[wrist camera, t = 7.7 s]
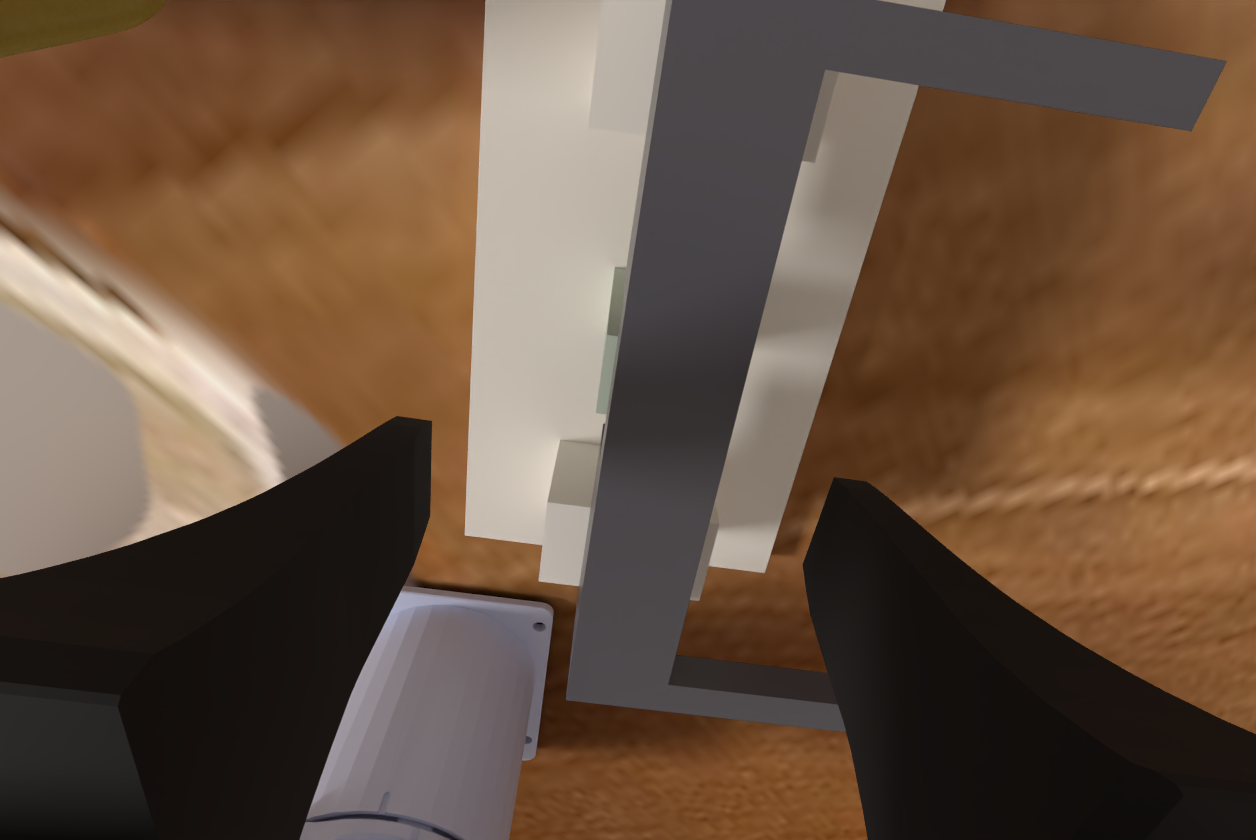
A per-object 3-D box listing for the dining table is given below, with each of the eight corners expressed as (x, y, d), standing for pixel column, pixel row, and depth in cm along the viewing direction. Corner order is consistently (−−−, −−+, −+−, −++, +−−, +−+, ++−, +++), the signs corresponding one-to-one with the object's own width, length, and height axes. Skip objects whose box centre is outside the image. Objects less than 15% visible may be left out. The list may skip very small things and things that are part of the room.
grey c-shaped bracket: (845, 624, 22) (885, 736, 18) (578, 591, 21) (565, 700, 18) (1080, 56, 14) (1228, 60, 10) (668, -15, 13) (678, -35, 10)
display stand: (760, 555, 26) (791, 690, 21) (470, 518, 26) (424, 647, 20) (942, -37, 17) (1084, -74, 12) (498, -116, 16) (427, -194, 11)
